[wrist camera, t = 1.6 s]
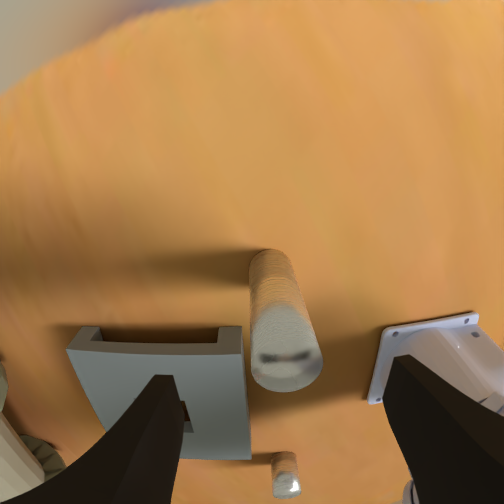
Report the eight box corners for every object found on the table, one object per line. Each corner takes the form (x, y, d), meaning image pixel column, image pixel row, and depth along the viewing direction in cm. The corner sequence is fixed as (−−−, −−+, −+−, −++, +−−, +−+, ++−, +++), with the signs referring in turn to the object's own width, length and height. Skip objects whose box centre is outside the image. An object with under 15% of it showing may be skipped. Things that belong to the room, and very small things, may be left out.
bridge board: (241, 326, 20) (241, 354, 18) (250, 433, 25) (251, 459, 22) (82, 326, 20) (65, 348, 18) (125, 427, 25) (117, 451, 22)
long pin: (291, 248, 19) (325, 335, 10) (291, 287, 20) (320, 388, 11) (247, 250, 19) (248, 341, 10) (250, 289, 20) (253, 394, 11)
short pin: (296, 450, 26) (302, 487, 22) (295, 462, 27) (300, 497, 23) (270, 452, 26) (273, 489, 22) (270, 464, 27) (273, 499, 23)
